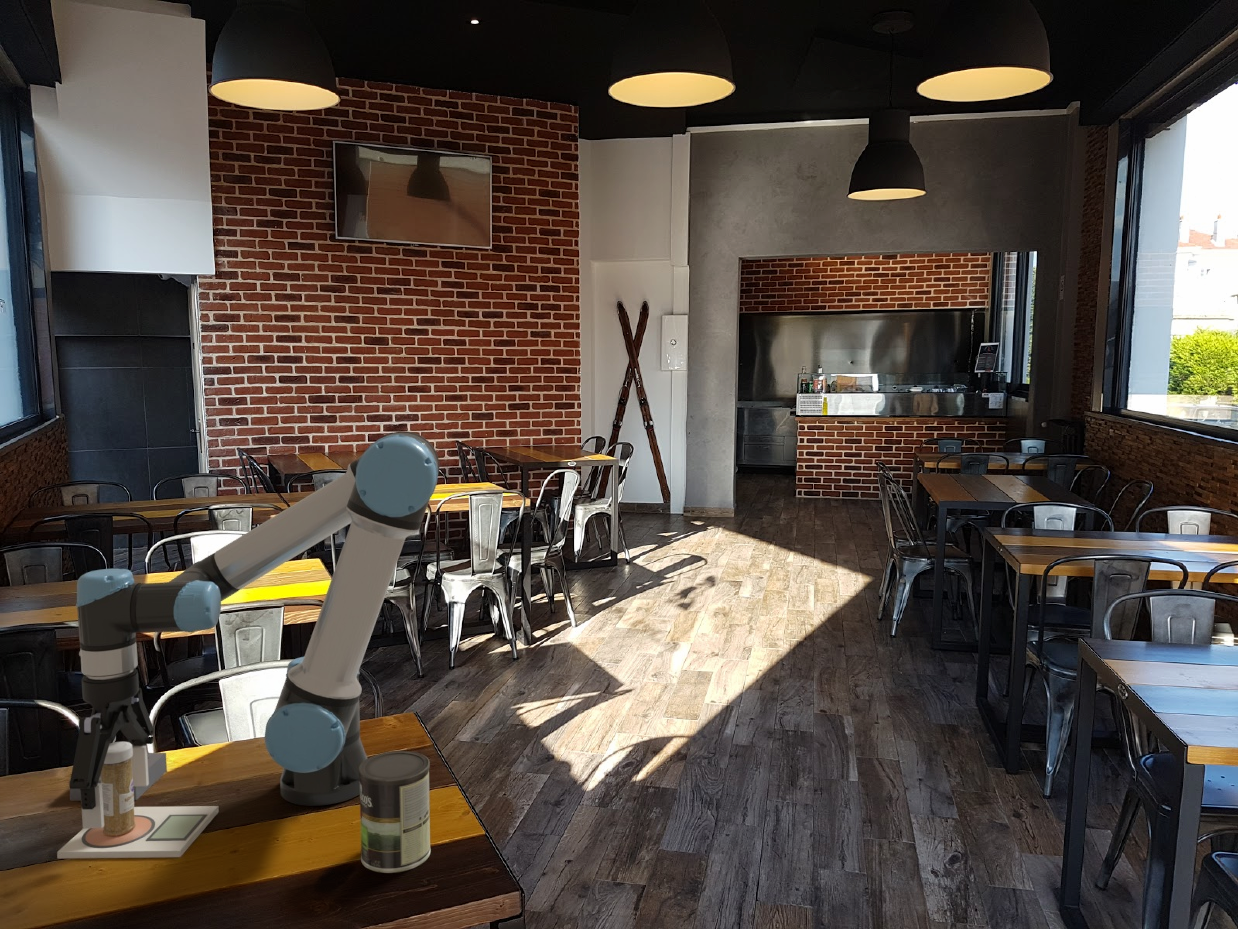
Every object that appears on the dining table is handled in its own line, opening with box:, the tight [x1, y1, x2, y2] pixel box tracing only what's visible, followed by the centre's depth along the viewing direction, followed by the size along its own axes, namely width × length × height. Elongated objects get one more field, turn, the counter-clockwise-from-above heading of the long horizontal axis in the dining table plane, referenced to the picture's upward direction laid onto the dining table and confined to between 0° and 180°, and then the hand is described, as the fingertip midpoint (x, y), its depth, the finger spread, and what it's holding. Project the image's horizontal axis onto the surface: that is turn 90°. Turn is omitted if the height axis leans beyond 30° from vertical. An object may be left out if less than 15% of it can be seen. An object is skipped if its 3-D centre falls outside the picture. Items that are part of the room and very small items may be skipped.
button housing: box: [68, 752, 168, 802], centre depth 160 cm, size 11×11×4 cm
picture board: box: [56, 805, 220, 859], centre depth 143 cm, size 18×14×1 cm
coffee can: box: [358, 750, 432, 874], centre depth 137 cm, size 10×10×14 cm
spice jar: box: [101, 741, 136, 836], centre depth 142 cm, size 5×5×14 cm
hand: (117, 805), depth 142 cm, fingers open, 13 cm apart
